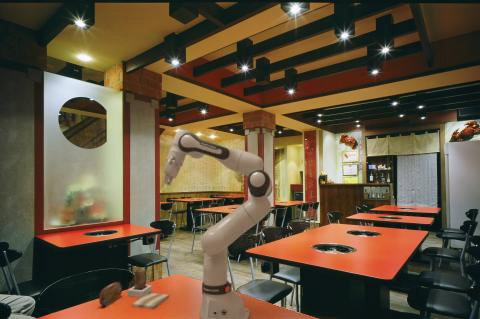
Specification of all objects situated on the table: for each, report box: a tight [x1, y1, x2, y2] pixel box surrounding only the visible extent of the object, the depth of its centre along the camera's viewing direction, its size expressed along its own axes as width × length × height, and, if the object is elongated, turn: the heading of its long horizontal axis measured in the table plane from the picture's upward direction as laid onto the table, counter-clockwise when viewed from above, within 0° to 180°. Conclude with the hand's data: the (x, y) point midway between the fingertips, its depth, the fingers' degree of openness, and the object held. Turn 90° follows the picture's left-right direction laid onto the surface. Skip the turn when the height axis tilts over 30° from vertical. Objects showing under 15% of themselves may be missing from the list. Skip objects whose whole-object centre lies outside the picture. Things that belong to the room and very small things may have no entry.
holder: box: [127, 284, 153, 298], centre depth 153 cm, size 9×9×3 cm
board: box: [131, 292, 170, 310], centre depth 142 cm, size 12×14×1 cm
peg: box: [134, 268, 147, 290], centre depth 153 cm, size 4×4×12 cm
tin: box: [98, 281, 123, 307], centre depth 143 cm, size 15×3×8 cm, turn 168°
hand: (166, 184), depth 145 cm, fingers open, 8 cm apart
